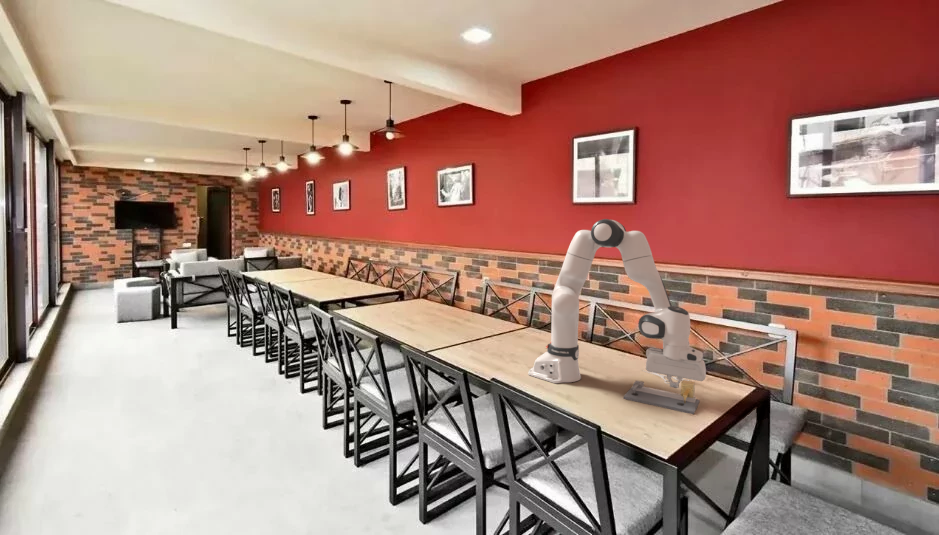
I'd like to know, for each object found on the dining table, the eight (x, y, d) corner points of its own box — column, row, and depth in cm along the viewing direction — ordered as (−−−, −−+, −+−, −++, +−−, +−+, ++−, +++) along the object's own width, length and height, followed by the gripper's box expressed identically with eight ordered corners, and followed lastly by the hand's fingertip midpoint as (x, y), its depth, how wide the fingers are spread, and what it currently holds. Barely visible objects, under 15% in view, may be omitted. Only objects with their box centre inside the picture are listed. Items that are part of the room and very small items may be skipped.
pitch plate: (623, 398, 170) (623, 388, 169) (632, 388, 179) (633, 378, 179) (693, 414, 156) (694, 403, 155) (699, 402, 165) (699, 392, 165)
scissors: (672, 385, 181) (633, 369, 199) (672, 387, 182) (633, 371, 199) (690, 380, 186) (650, 366, 204) (689, 382, 186) (650, 367, 204)
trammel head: (678, 402, 162) (679, 385, 161) (682, 395, 167) (683, 379, 167) (690, 404, 159) (691, 388, 158) (694, 398, 165) (695, 382, 164)
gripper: (644, 348, 169) (642, 383, 171) (704, 358, 157) (702, 396, 159) (648, 344, 174) (647, 378, 176) (707, 353, 162) (705, 390, 164)
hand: (674, 387), depth 167 cm, fingers closed
